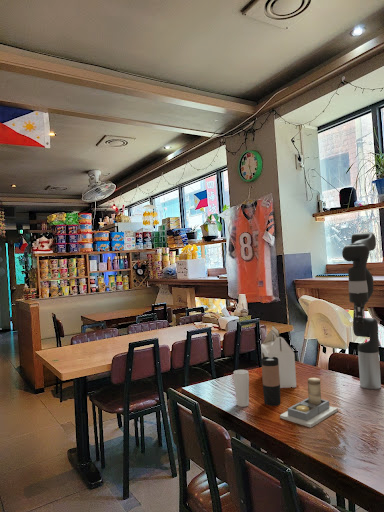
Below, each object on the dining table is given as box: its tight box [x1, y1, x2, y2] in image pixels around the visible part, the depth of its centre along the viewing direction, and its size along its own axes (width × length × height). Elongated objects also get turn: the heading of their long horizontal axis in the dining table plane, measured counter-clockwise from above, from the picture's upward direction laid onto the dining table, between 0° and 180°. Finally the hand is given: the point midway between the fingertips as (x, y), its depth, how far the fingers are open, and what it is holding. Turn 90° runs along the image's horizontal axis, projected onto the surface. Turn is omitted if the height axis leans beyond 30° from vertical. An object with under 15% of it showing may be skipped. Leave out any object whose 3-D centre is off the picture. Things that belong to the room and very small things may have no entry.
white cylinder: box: [233, 369, 250, 408], centre depth 174 cm, size 7×7×15 cm
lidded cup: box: [307, 377, 322, 406], centre depth 162 cm, size 5×5×12 cm
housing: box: [279, 397, 339, 428], centre depth 160 cm, size 21×14×4 cm, turn 132°
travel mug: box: [261, 357, 282, 407], centre depth 174 cm, size 8×8×20 cm
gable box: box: [260, 325, 297, 389], centre depth 204 cm, size 22×13×28 cm, turn 179°
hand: (360, 328), depth 167 cm, fingers open, 8 cm apart
